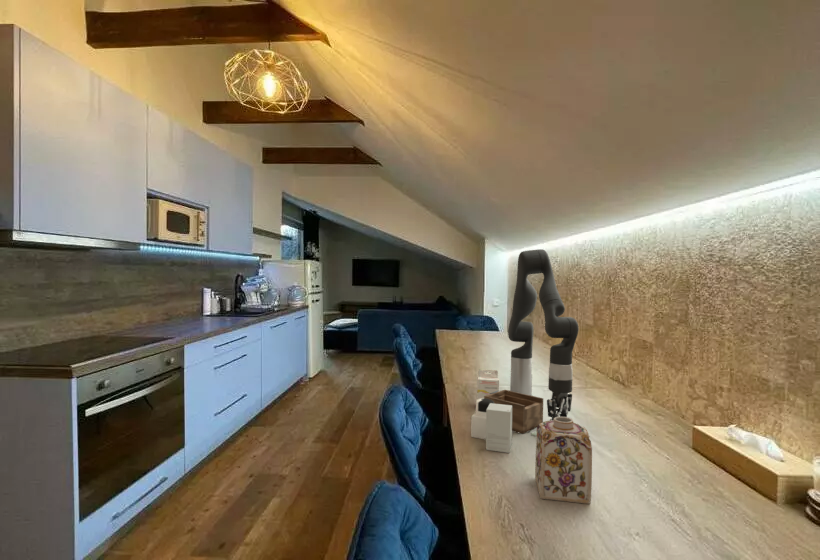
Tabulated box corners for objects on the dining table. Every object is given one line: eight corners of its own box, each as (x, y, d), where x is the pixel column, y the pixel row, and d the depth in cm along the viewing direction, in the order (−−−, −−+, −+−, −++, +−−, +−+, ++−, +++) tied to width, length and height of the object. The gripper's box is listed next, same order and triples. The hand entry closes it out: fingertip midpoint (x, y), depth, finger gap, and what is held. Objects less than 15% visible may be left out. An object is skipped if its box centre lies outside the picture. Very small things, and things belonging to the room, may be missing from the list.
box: (504, 414, 169) (505, 389, 169) (542, 424, 157) (543, 398, 157) (483, 422, 159) (484, 396, 159) (522, 433, 147) (523, 406, 147)
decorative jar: (591, 505, 102) (593, 428, 102) (540, 500, 104) (541, 424, 104) (581, 482, 113) (582, 413, 113) (534, 477, 115) (536, 409, 115)
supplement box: (512, 445, 138) (513, 405, 138) (509, 453, 131) (510, 411, 131) (488, 441, 140) (489, 402, 140) (485, 450, 133) (486, 408, 133)
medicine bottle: (497, 434, 147) (498, 398, 147) (492, 441, 141) (492, 404, 140) (476, 430, 150) (477, 395, 150) (470, 437, 144) (471, 400, 143)
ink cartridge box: (477, 408, 176) (477, 371, 176) (476, 404, 181) (477, 369, 181) (498, 409, 175) (499, 372, 175) (497, 405, 180) (498, 369, 180)
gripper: (559, 371, 153) (558, 419, 154) (539, 377, 143) (538, 429, 143) (580, 375, 148) (579, 425, 148) (561, 382, 138) (560, 435, 138)
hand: (559, 427), depth 146 cm, fingers open, 5 cm apart
